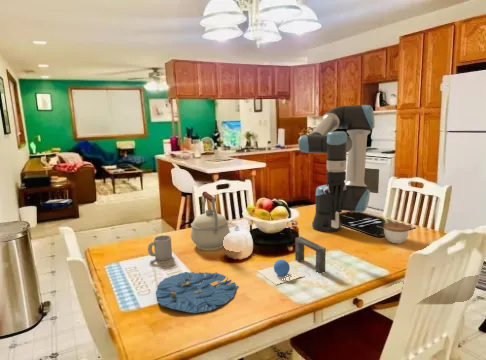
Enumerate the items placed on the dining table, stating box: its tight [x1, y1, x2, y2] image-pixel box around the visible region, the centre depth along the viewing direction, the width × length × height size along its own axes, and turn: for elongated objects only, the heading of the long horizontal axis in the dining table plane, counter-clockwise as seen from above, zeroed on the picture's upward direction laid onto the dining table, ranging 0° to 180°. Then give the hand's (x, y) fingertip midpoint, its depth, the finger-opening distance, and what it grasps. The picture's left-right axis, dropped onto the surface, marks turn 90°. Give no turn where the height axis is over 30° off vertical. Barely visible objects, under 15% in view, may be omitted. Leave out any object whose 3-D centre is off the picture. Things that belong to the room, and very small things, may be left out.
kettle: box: [190, 191, 231, 251], centre depth 161 cm, size 25×18×25 cm
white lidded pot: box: [383, 221, 410, 244], centre depth 159 cm, size 11×11×9 cm
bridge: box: [294, 236, 327, 274], centre depth 136 cm, size 3×15×10 cm, turn 28°
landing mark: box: [257, 265, 305, 286], centre depth 130 cm, size 13×13×1 cm
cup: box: [147, 234, 173, 261], centre depth 148 cm, size 7×10×9 cm
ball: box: [273, 259, 291, 276], centre depth 129 cm, size 6×6×6 cm
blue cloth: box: [155, 271, 240, 314], centre depth 119 cm, size 30×30×5 cm
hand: (334, 227), depth 140 cm, fingers closed
